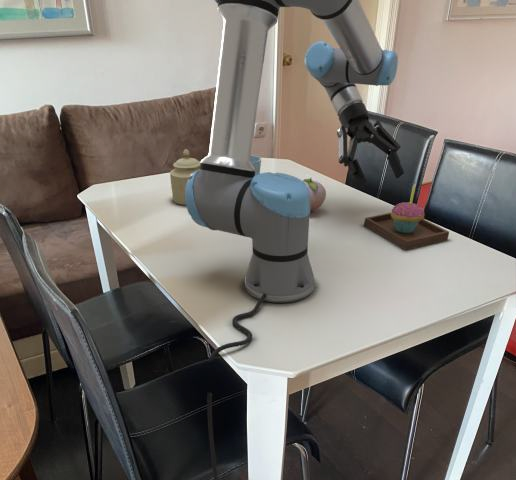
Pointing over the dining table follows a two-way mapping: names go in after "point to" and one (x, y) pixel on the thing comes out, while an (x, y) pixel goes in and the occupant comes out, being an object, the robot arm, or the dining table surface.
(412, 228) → the cupcake
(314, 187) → the decorative fruit
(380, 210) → the dining table surface
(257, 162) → the cup
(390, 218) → the tray
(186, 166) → the sugar bowl
